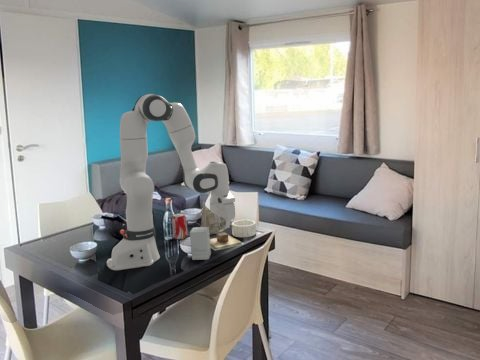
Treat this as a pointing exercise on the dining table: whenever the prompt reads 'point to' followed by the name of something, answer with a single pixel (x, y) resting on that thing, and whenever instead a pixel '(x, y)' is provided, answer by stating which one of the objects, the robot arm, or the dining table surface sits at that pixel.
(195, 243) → the supplement box
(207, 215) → the ceramic cottage
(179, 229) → the soda can
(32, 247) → the dining table surface
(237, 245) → the mat
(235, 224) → the pipe section
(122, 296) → the dining table surface
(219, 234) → the lid
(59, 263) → the dining table surface
